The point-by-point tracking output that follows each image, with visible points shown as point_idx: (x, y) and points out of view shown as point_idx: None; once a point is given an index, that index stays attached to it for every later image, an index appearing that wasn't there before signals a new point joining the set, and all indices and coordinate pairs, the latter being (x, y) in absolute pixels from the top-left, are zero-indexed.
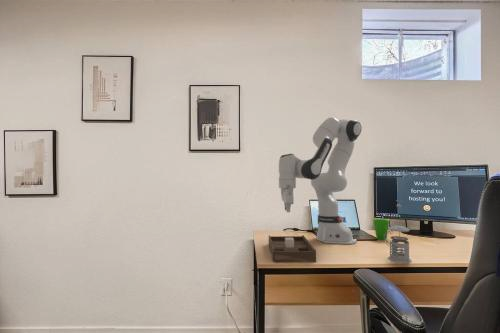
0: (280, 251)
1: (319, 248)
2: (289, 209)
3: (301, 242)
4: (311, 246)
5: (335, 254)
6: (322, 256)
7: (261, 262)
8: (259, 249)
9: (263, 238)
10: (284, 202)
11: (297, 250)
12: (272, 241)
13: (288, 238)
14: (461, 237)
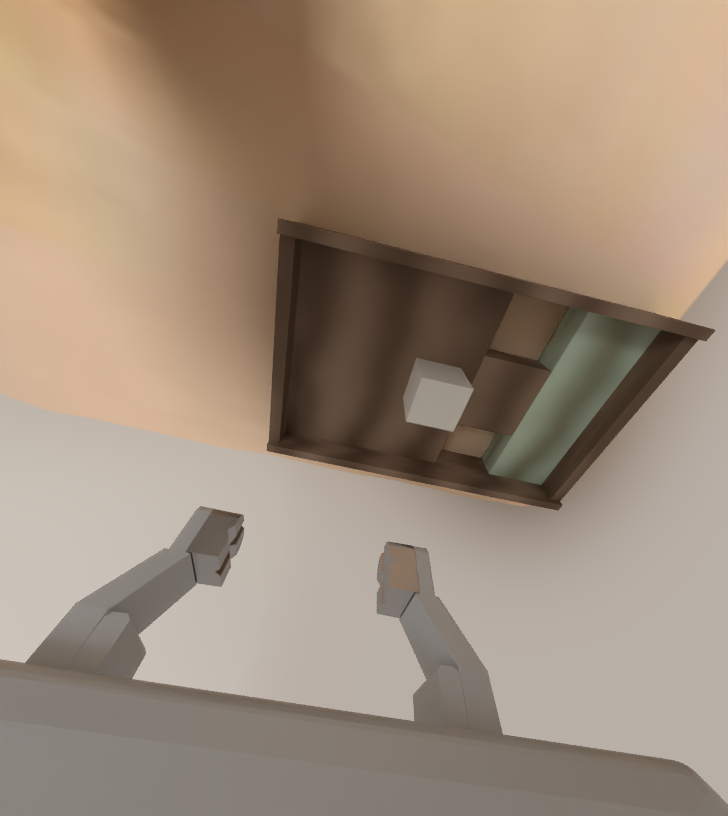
0: (568, 483)
1: (426, 132)
2: (430, 589)
3: (361, 272)
4: (617, 315)
5: (629, 68)
6: (601, 220)
7: (515, 504)
8: (354, 472)
9: (151, 409)
10: (129, 677)
11: (522, 373)
12: (306, 427)
13: (435, 411)
14: None
